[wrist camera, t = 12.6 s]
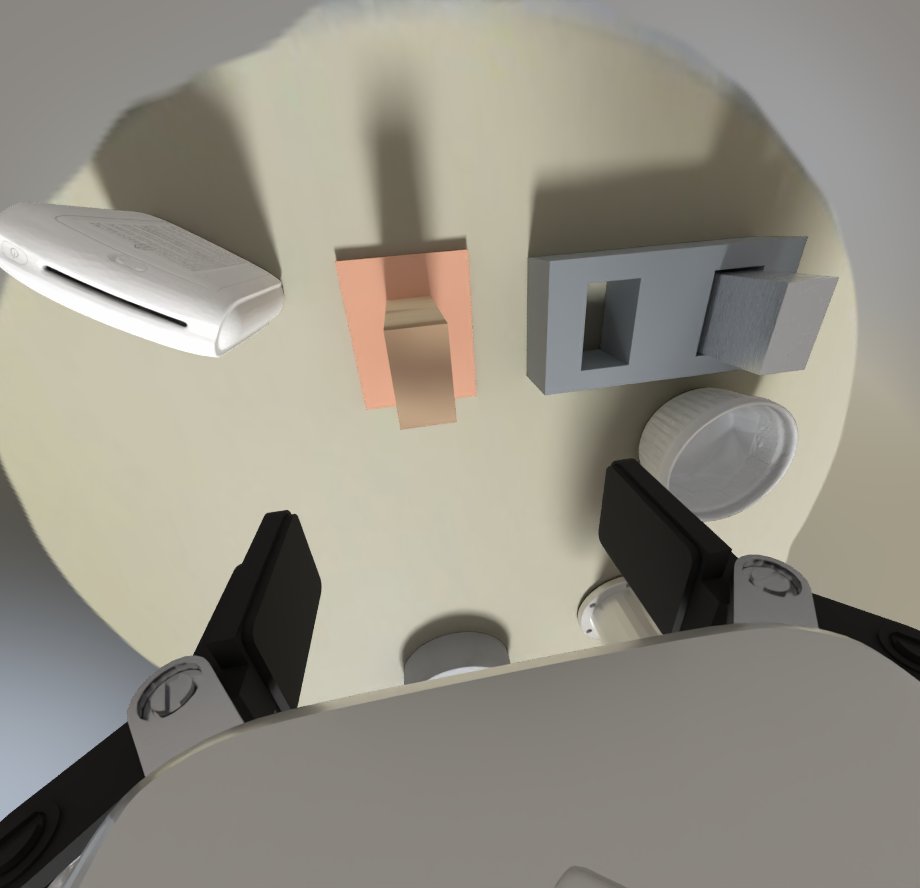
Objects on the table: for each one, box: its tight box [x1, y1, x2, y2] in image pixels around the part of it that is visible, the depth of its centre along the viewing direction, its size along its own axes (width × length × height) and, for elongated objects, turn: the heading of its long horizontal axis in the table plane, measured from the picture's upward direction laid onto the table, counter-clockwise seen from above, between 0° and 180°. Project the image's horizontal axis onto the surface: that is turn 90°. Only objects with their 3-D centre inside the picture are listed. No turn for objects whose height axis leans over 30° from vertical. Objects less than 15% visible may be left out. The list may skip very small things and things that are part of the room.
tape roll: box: [404, 632, 510, 685], centre depth 54 cm, size 15×15×5 cm
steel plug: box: [697, 268, 839, 375], centre depth 30 cm, size 6×4×11 cm, turn 4°
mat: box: [335, 249, 476, 410], centre depth 32 cm, size 12×10×1 cm
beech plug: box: [384, 296, 457, 430], centre depth 27 cm, size 6×4×11 cm, turn 5°
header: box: [527, 236, 808, 395], centre depth 32 cm, size 10×20×5 cm, turn 94°
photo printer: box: [0, 202, 284, 357], centre depth 23 cm, size 10×4×12 cm, turn 61°
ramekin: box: [639, 388, 798, 522], centre depth 39 cm, size 13×13×7 cm
